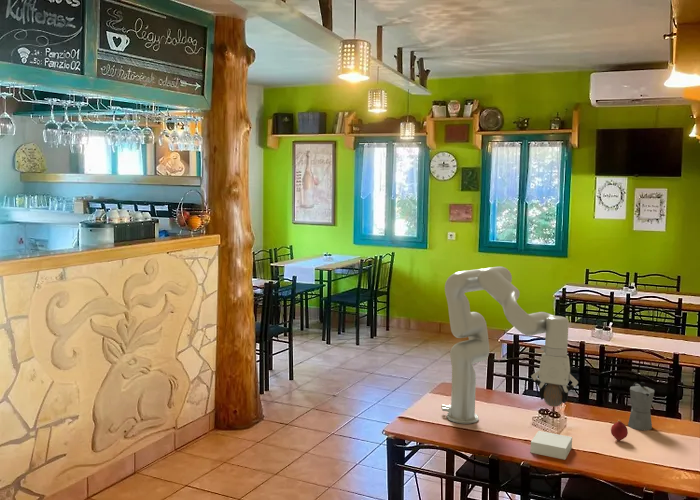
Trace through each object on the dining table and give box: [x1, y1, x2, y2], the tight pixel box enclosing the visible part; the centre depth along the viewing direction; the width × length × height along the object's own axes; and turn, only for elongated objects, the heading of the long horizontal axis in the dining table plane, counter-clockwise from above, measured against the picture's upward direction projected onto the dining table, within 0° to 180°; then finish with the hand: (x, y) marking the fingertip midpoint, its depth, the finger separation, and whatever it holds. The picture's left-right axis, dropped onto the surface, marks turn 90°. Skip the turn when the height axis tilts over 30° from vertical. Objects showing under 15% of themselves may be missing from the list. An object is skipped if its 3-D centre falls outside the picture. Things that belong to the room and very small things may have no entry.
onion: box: [610, 419, 629, 442], centre depth 248 cm, size 6×6×8 cm
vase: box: [543, 383, 564, 408], centre depth 237 cm, size 7×7×9 cm
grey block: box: [529, 430, 573, 460], centre depth 239 cm, size 12×12×4 cm
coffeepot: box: [627, 381, 655, 432], centre depth 264 cm, size 15×9×18 cm, turn 176°
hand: (553, 400), depth 237 cm, fingers closed on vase, 6 cm apart
